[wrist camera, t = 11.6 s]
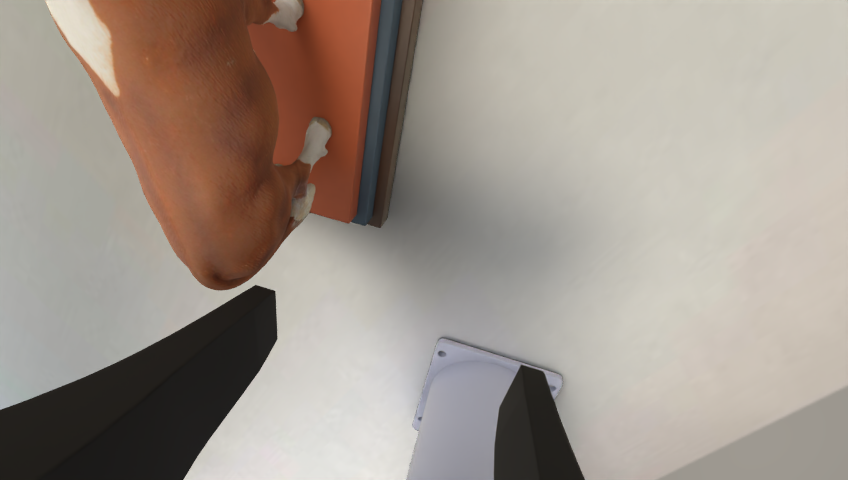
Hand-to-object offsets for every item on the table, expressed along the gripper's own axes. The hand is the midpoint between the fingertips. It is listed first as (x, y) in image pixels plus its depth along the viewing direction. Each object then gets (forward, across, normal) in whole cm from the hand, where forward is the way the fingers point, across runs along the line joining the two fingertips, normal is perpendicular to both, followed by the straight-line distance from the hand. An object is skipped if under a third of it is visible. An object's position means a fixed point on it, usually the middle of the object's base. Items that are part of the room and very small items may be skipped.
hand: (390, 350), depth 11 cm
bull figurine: (+8, +8, -5) cm, 12 cm away
